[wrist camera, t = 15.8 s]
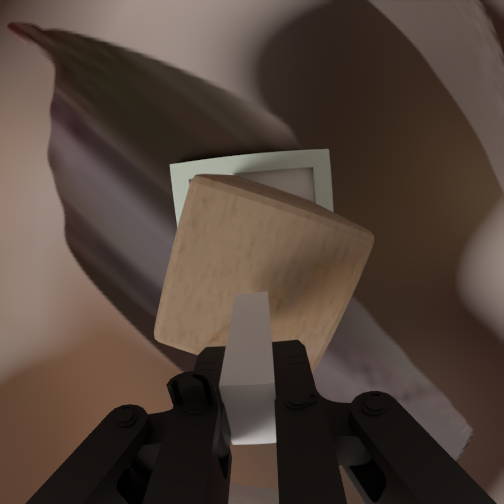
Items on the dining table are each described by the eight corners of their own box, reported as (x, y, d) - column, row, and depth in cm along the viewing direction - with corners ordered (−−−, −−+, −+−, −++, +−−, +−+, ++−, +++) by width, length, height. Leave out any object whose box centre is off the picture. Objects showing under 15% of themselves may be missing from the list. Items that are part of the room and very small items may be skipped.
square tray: (175, 165, 34) (169, 164, 32) (324, 150, 33) (328, 148, 31) (195, 303, 38) (191, 311, 36) (331, 292, 37) (335, 298, 35)
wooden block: (312, 201, 33) (380, 235, 14) (284, 278, 36) (308, 386, 17) (230, 173, 33) (191, 170, 14) (205, 253, 35) (150, 342, 16)
